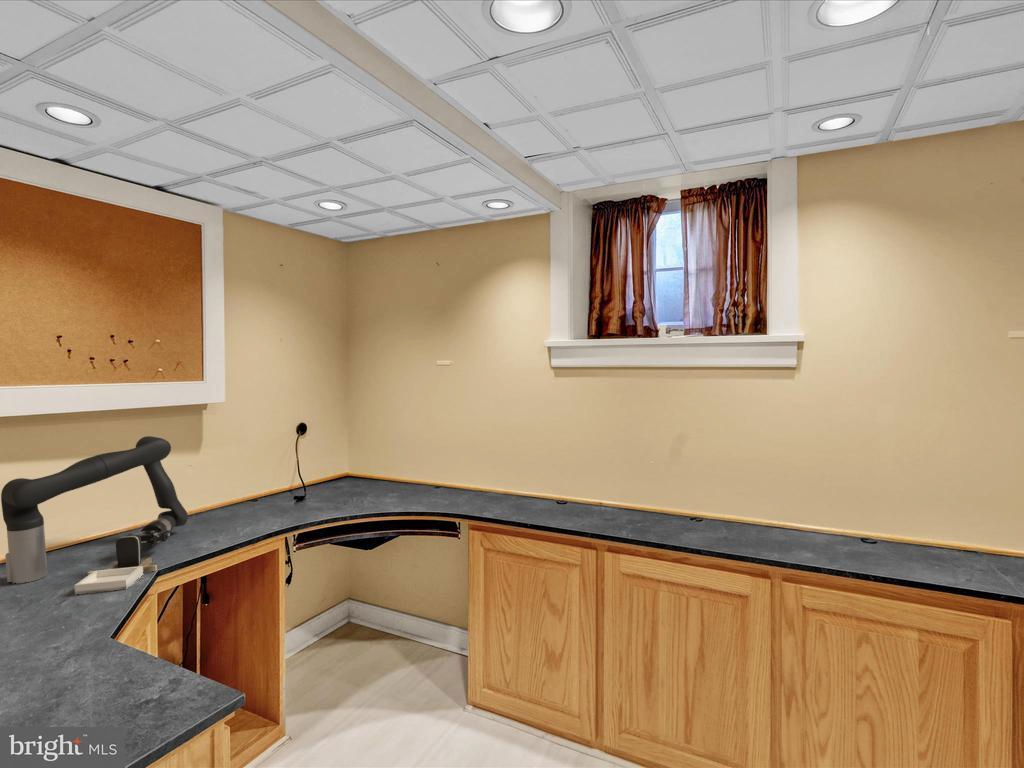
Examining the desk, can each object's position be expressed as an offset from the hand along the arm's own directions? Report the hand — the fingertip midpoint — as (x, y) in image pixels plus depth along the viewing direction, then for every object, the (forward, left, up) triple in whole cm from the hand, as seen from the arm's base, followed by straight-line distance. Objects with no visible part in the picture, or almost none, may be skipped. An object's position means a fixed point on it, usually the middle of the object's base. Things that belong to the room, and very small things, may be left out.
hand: (137, 544), depth 196 cm
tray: (0, -20, -7) cm, 21 cm away
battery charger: (0, -6, -7) cm, 9 cm away
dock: (0, -8, -7) cm, 10 cm away
